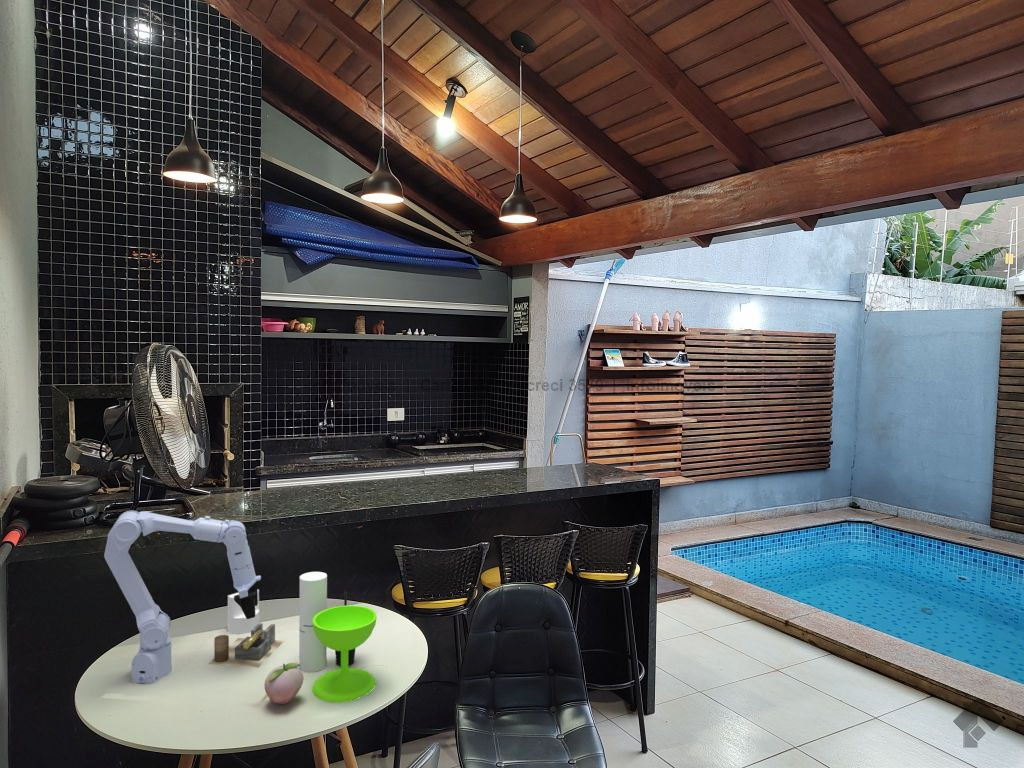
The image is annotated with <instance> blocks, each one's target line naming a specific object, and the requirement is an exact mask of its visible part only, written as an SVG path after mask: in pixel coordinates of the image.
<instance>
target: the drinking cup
mask: <svg viewBox="0 0 1024 768" xmlns="http://www.w3.org/2000/svg"><path fill="white" fill-rule="evenodd" d="M343 592H344V593H343V594H344V597H343V598H344V600H343V601H344V603H343V604H344V605H343V606H347V605H348V599H347V598H348V591H347V590H345V591H343ZM334 653H335V662H336V663H335V664H336V665H337V666H338V667H341V651H336V650H334ZM355 655H356V648H355V649H352V650H348V667H349V666H351V665H353V664H354V663H355Z"/></svg>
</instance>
